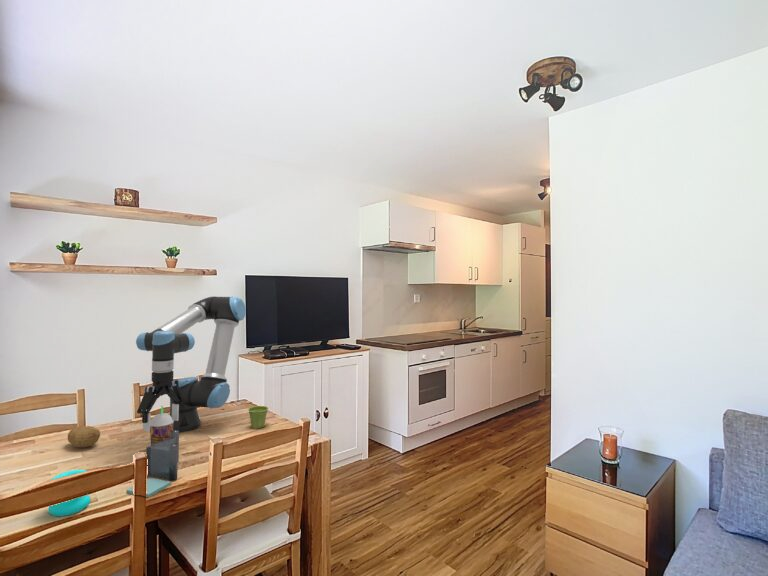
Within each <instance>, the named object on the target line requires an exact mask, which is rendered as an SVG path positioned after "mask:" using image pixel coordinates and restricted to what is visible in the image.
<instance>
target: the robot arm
mask: <svg viewBox="0 0 768 576" xmlns="http://www.w3.org/2000/svg"><path fill="white" fill-rule="evenodd" d="M246 309H247V308H246V304H245V302H244V300H243V299H242V298H241V297H238V296H237V297H236V296H209V297H205V298H202V299H200V300H199V301H196V302H194V303H192V304H191V305H189V306H188V308H187V310H185V311H184V312H182V313H180V314H178V315H177V316H176V317H174V318H172V319H171V320H169V321H167V322H166V323H164V324H163V325H161V326H159V327H157V328H156V329H154V330H153V331H151V332H141V333H139V334H138V336H137V338H136V340H135V344H136V347H137V349H138V350H140V351H145V352H152V354H151V355H152V358H151V371H152V372H151V382H152V386H145V388H144V394H143V396H142V398H141V401H140V403H139V406H138V409H137V411H136V413H137V414H141V422H142V431H143V432H149V433H150V424H151V421H152V418H151V417H152V415H151V414H152V413H150V412H151V410H152V409H153V407H154V405H155V403H156V402H157V400H158V399H159V398H160V397H162V396H164V395H167V396H168V398H169V413H168V414H169V415H170V416H171V417H172V419H173V420H174V422H173V430H179V434H180V433H188V432H191V431H195V430H197V429H199V428H200V427H201V425H202V421H201V418H200V414H199V412H198V411H199V410H198V408H209V409H218V408H221V407H222V406H224V404H226V402H227V401H228V399H229V396H230V393H231V388H230V384H229V383H228V379H227V377H226V376H225V374H226V371H227V366H228V360H229V356H230V350H231V346H232V340H233V338H234V333H235V328H237V327H238V326H239V323H240V321H243V320H244V319H245V318H246V313H247V311H246ZM207 320H213V322H214V324H215V329H214V333H213V338H212V343H211V348H210V351H209V356H208V361H207V365H206V369H205V373H204V374H202V375H201V376H200V380H199V379H198V377H197V376H191V377H190V376H189V377H184V378H179V379H174V367H175V366H174V362H175V361H174V360H175V358H174V357H175V354H178V353H179V354H180V353H182V352H183V353H184V352H188V351H190V350H193V347H194V346H195V343H196V342H195V341H196V340H195V337H194V335H192V334H191V333H188V332H187V333H185V332H186V331H187V330H189V329H190V328H191V327H193V326H194V325H196V324H198V323H202V322H204V321H207Z"/></svg>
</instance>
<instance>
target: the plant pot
mask: <svg viewBox="0 0 768 576" xmlns="http://www.w3.org/2000/svg"><path fill="white" fill-rule="evenodd" d="M268 410H269V407H268V406H265V405H256V406H251V407H249V408H248V409H247V411H248V414H249V419H250V426H251V428H252V429H253V430H255V429H256V430H257V429H260V428H264V427H265V425H266V418H267V414H268Z"/></svg>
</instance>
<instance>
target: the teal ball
mask: <svg viewBox="0 0 768 576" xmlns="http://www.w3.org/2000/svg"><path fill="white" fill-rule="evenodd" d="M86 471H87V470H85V469H73V470H69V471H64V472H61V473H59V474H58V475H55V476H53V477H52V478H51V480H53V479H56V478H60V477H63V476H68V475H72V474H76V473H81V472H86ZM51 480H50V481H51ZM90 502H91V496H90V495H89V494H88V495H86V496H83V497H79V498H76V499H73V500H70V501H67V502H63V503H60V504H57V505H53V506H49V505H48V509H47V511H48V513H49V514H50V515H51V516H55V517H66V516H70V515H74V514H76V513H79V512H80V511H82V510H84V509H85V508H87V507H88V505H90Z"/></svg>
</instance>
